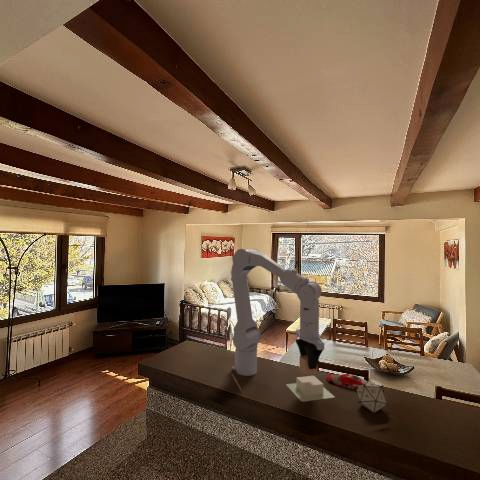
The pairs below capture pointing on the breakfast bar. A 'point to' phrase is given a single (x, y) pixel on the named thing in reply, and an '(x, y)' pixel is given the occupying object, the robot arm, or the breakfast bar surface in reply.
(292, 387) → the build plate
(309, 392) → the base brick
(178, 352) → the breakfast bar surface
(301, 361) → the top brick
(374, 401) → the game die
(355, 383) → the race car
